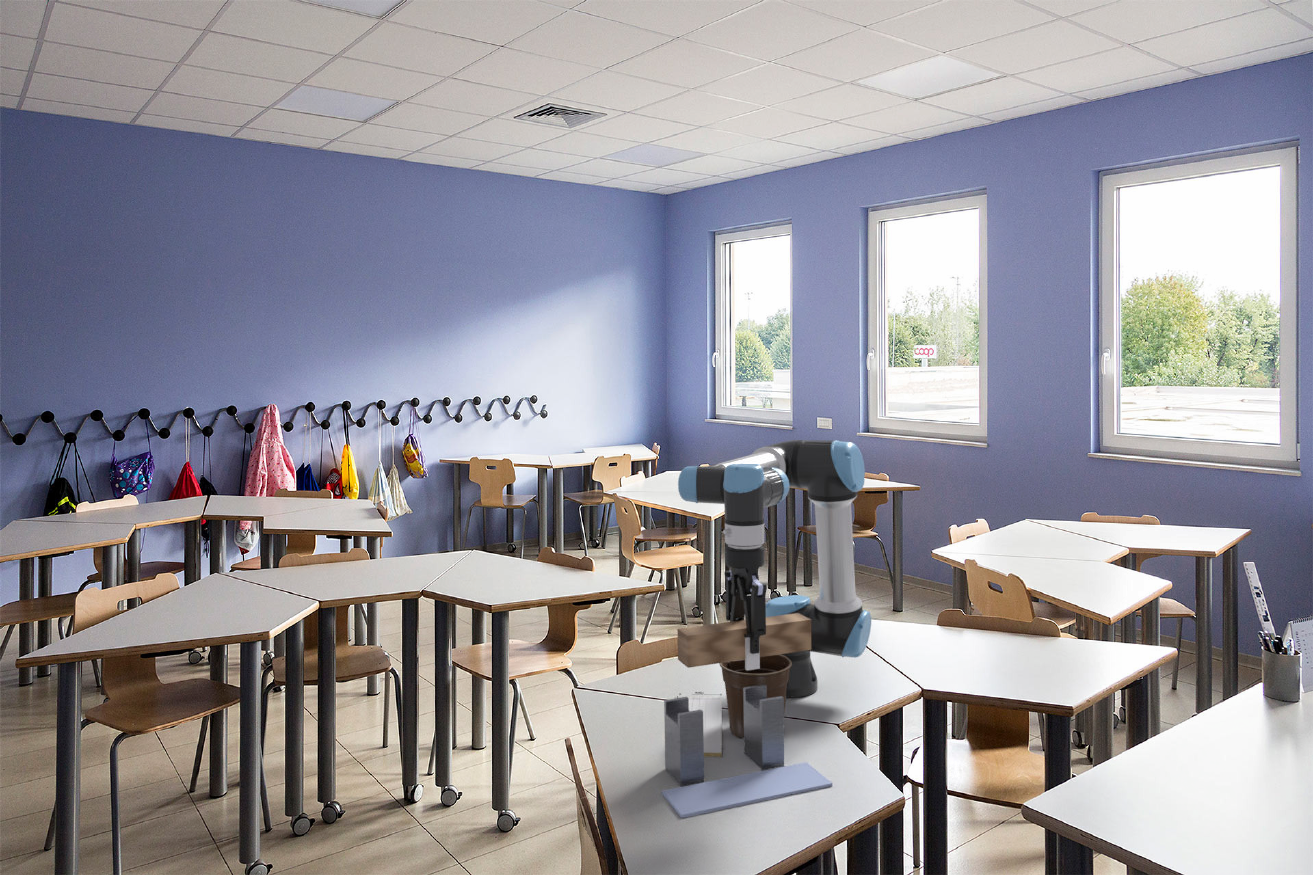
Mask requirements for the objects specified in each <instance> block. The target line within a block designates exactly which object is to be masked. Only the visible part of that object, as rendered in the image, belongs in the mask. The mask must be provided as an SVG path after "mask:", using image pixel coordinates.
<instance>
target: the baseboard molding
mask: <svg viewBox="0 0 1313 875" xmlns="http://www.w3.org/2000/svg"><path fill="white" fill-rule="evenodd" d="M693 695H696V696H697V695H701V696H703V695H704V696H705V695H709V696H710V697H701V696H700V697H695V696H694V697H688V696H687V697H688V698H689V711H695V710H702V711H703V737H704V758H705V757H706V758H707V757H708V758H709V757H710V758H712V757H713V758H715V757H717V758H718V757H719V758H720V757H722V755H723V754H722V752H723V751H722V750H723V749H722V746H723V745H722V742H723V741H722V739H723V738H722V737H723V735H722V732H723V730H722V729H723V728H722V727H723V724H722V721H723V720H722V719H723V715H722V714H723V707H722V706H723V705H722V704H723V698H722V697H714V696H715V695H717V696H718V694H704V691H699V692H697V691H695V692H694V693H693ZM712 695H714V696H713V697H711V696H712ZM722 695H723V694H722V693H720V696H722ZM679 696H681V693H679ZM679 696H678V695H677V696H675V697H674V699H675V698H679Z"/></svg>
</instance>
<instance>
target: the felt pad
mask: <svg viewBox="0 0 1313 875" xmlns="http://www.w3.org/2000/svg"><path fill="white" fill-rule="evenodd" d="M829 786H830V787H833V782H832V781H830V779H828V778H827V777H826V776H824V775H823V774H822V773H821V772H820V771H818V770H817V769H815V767H813V766H812V765H811V764H809V763H808V762H807V761H805V762H800V763H795V764H791V765H784V766H783V767H778V768H773V769H768V770H759V771H755V772H749V773H743V774H741V775H736V776H735V775H734V776H730V777H725V778H720V779H715V780H708V781H704V782H702V783H697V784H692V785H687V786H682V787H681V786H679V787H674V788H669V789H665V790H661V795H662V797H664V798H665V800H666V801H667V802H668V804H670V806H671V807H672V809H673V810H674V811H675V812H676V814H677V815H678V816H679V817H680V819H684V818H688V817H693V816H698V815H703V814H707V813H712V812H717V811H721V810H725V809H731V808H735V807H740V806H745V805H750V804H754V803H758V802H763V801H768V800H774V799H777V798H778V799H779V798H781V797H782V798H783V797H788V796H792V795H791V794H793V795H797V794H801V792H802V793H807V792H811V791H810V790H812V791H815V790H820V788H821V789H825V788H829ZM806 791H807V792H806Z"/></svg>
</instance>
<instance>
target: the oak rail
mask: <svg viewBox="0 0 1313 875" xmlns="http://www.w3.org/2000/svg"><path fill="white" fill-rule="evenodd" d="M676 630H677V660H678V661H679V662H680V663H682V664H683V665H684V666H685V667H686V668H687V669H689V668H695V667H703V666H709V665H715V664H719V663H724V662H731V661H738V660H745V637H744V634H747V628H746V619H744V620H741V621H733V622H730V621H726V622H719V623H710V624H704V625H695V626H694V625H693V626H687V627H681V628H679V627H678V628H677V629H676ZM759 638H760V657H765V656H772V655H779V654H786V653H792V652H799V651H806V650H811V619H809V618H807V617H805V616H803V615H801V614H799V613H795V614H787V615H779V616H772V617H766V635H761V636H760V637H759Z"/></svg>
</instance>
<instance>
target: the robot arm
mask: <svg viewBox="0 0 1313 875" xmlns="http://www.w3.org/2000/svg"><path fill="white" fill-rule="evenodd" d="M865 476H866V469H865V462H864V458H863V455H862V452H861V450H860V449H859V447H858V446H857V445H856V444H855V443H854V442H850V441H840V440H812V439H811V440H810V439H809V440H805V439H804V440H802V439H793V440H785V441H781V442H777V443H773V444H769V445H765V446H762V447H760V448H757V449H756V450H754V451H753V452H752V453H751V454H749V455H746V456H745V455H744V456H742V457H738V458H733V459H731V460H726V461H723V462H720V463H716V464H711V465H708V466H707V465H706V466H702V465H701V466H699V465H695V466H694V465H690V466H689V465H688V466H685V467H684V468H683V469H682V470H681V471H680V472H679V476H678V479H677V480H678V481H677V487H678V488H677V490H678V493H679V496H680V498H681V499H682V500H683V501H685V502H688V503H689V502H691V503H695V504H715V505H721V504H722V505H724V529H723V531H722V532H723V533H722V534H724V543H725V544H726V545H725V546H724V564H725V566H726V567H728V568H731V570H725V571H724V572H723V573H724V580H725V619H726V622H733V621H741V620H746V628H747V634H744V637H745V669H746V670H754V669H760V638H759V637H760V636H761V635H766V617H772V616H779V615H787V614H795V613H799V614H801V615H803V616H805V617H807V618H809V619H811V650H806V651H799V652H792V653H786V654H781V655H784V656H786V657H787V658H789V659H790V660H791V662H792V665H791V667H790V669H789V680H788V682H787V688H786V698H799V697H802V698H803V697H807V696H809V695H812V694H815V692H817V691H818V687H819V686H818V685H819V684H818V681H819V680H818V677H817V675H816V674H817V673H816V670H815V667H814V665H813V661H812V658H811V653H817V654H825V655H831V656H836V657H837V656H838V657H841V658H846V657H847V658H859V657H861V656H862V655H863V653H864V652H865V650H866V648H867V645H868V643H869V639H870V634H871V628H872V616H871V612H870V611H868V610H866V609H865V610H863V602H862V601H863V600H861V598H859V597H858V596H857V594H856V579H855V578H856V577H855V575H856V574H855V560H854V541H853V540H854V539H853V537H854V536H853V517H852V516H853V515H852V514H853V513H852V502H853V501H855V500H856V498H857V497H858V492H860V491H861V490H862V489H863V488H864V485H865ZM790 488H793V489H794V488H797V489H806V490H807V498H808V500H810V502H812V503H813V504H814V511H815V512H814V514H815V532H816V547H817V549H816V550H817V565H818V566H817V568H818V582H819V586H818V587H819V596H818V597H817V598H816V599H815V600H814V601H813V602H814V603H813V604H812V601H811V598H810V597H809V596H806V595H804V594H803V595H800V594H795V595H794V594H792V595H784V596H779V597H775V598H772V599H770V600H768V601H767V600H766V595H767V589H768V586H767V583H761V582H760V576H759V572H758V570H759V568H761V567H764V565H765V547H764V545H763V544H765V509H767V508H768V507H773V506H776V505H778V504H779V503H781V502H782V501H783V500H785V499H786V497H787V496H788V494H789V491H790ZM766 601H767V602H766ZM738 661H739V660H738Z"/></svg>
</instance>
